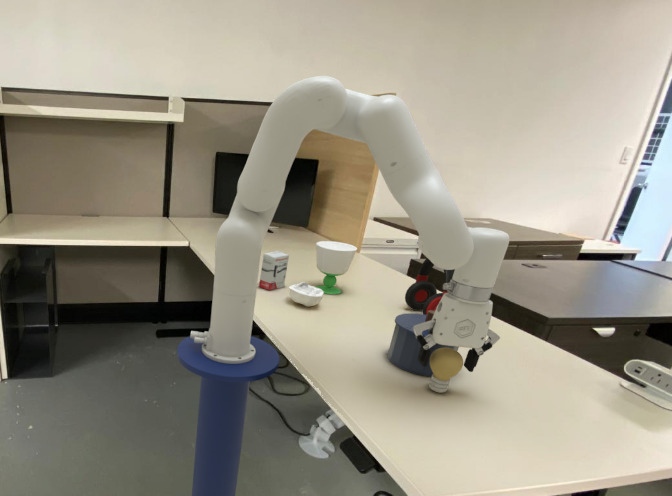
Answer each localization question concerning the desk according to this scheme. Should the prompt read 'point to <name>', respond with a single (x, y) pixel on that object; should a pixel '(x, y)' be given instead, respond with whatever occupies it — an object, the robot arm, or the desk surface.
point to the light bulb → (444, 368)
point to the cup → (333, 262)
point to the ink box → (273, 270)
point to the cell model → (305, 294)
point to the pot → (410, 352)
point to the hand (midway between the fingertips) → (445, 366)
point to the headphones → (425, 290)
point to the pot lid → (413, 321)
